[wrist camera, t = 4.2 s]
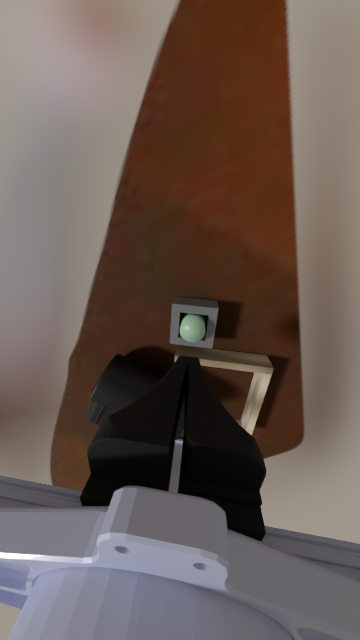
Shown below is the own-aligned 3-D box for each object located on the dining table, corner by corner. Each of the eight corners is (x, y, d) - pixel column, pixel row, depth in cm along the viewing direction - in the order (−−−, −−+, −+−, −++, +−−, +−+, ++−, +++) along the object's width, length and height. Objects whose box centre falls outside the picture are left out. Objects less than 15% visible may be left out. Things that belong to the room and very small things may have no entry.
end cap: (195, 376, 24) (192, 423, 18) (170, 410, 27) (161, 460, 21) (125, 341, 23) (97, 377, 17) (107, 379, 26) (77, 422, 20)
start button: (203, 329, 21) (203, 343, 18) (182, 326, 21) (178, 340, 18) (206, 309, 20) (206, 321, 17) (183, 306, 20) (180, 318, 17)
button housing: (211, 337, 22) (212, 348, 19) (173, 332, 22) (169, 343, 20) (216, 300, 20) (218, 308, 18) (175, 296, 20) (172, 303, 18)
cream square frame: (245, 424, 26) (249, 441, 24) (172, 413, 27) (169, 429, 25) (266, 355, 22) (273, 368, 20) (177, 344, 22) (174, 355, 20)
